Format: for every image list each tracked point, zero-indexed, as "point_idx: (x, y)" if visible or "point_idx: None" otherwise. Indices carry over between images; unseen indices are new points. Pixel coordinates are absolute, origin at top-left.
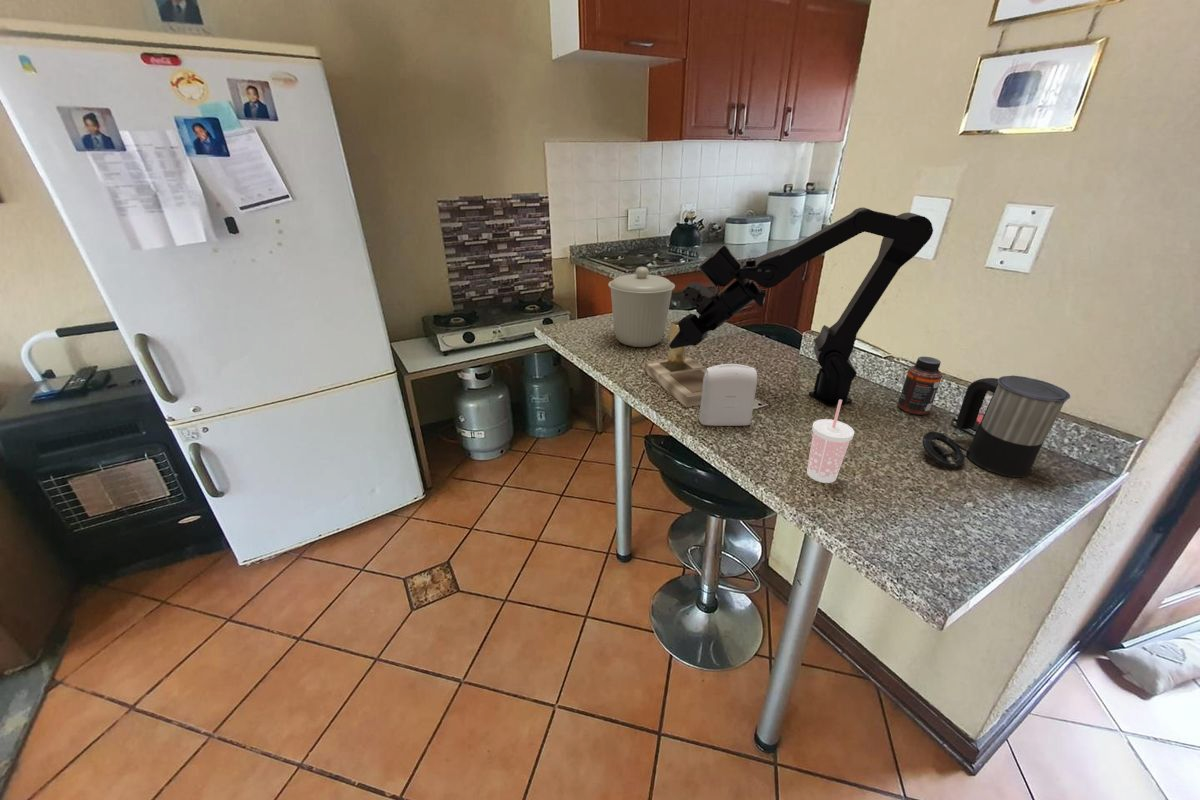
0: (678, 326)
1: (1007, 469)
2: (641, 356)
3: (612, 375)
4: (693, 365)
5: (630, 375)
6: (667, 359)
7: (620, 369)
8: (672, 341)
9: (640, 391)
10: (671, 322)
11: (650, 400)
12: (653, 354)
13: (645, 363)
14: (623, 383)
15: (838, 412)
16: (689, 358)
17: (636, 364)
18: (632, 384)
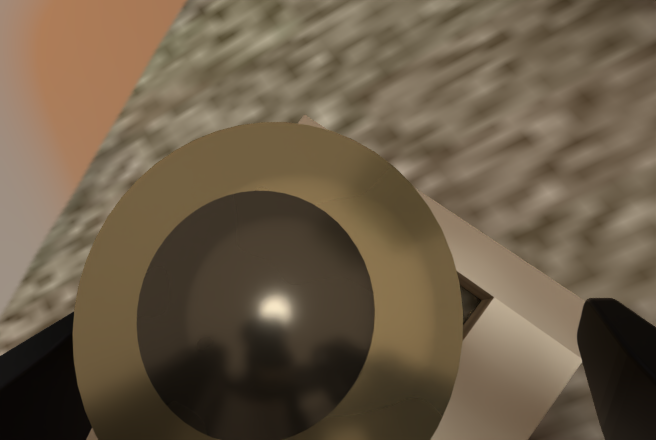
0: (75, 367)
1: None
2: (526, 8)
3: (191, 40)
4: (444, 436)
5: (234, 107)
6: (438, 212)
7: (278, 27)
8: (8, 358)
9: (84, 246)
10: (247, 128)
11: (14, 336)
12: (612, 44)
13: (300, 123)
14: (131, 132)
15: None
16: (568, 350)
17: (389, 52)
18: (139, 173)
